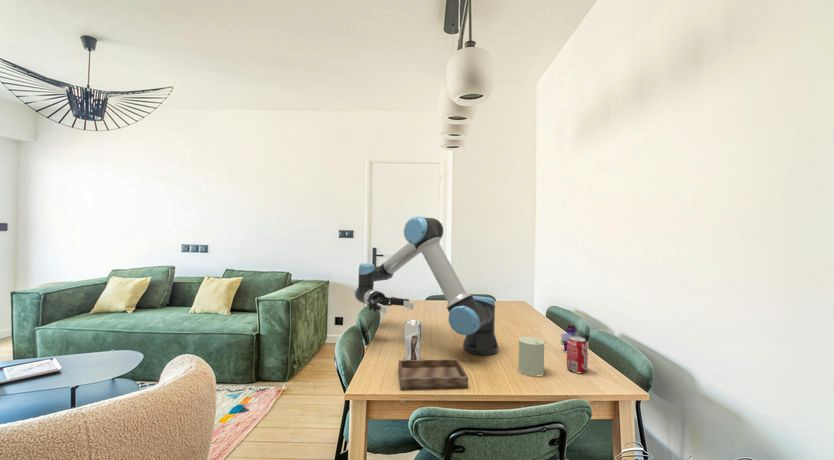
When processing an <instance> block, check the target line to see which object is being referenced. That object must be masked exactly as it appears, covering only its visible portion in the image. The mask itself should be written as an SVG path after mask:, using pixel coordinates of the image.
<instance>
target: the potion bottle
mask: <svg viewBox="0 0 834 460" xmlns="http://www.w3.org/2000/svg"><path fill="white" fill-rule="evenodd" d="M565 329H566V331H567V333H561V334H560V336H561V340H560V341H561V342H560V343H561V345H562V346H563V347H564V350H565V351H567V341H568V340H569V337H571V336H577V337H582V336H580V335H577V334H576V333H577V332H578V330H577V329H578V328H577V327H576V325H575V324H572V323H568V324H567V326H566V327H565ZM565 351H564V352H565Z"/></svg>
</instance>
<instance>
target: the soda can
mask: <svg viewBox="0 0 834 460" xmlns="http://www.w3.org/2000/svg"><path fill="white" fill-rule="evenodd" d="M586 340H587V339H586V338H584V337H582V336H581V337H577V336H571V337H569V340H568V341H567V353H566V368H567V369H569V371H570V370H572V371H575V372H584V373H585V372H587V371H588V362H589V361H588V358H589V357H588V356H589V355H588V353H589V352H588V351H589V348H588V347H589V346H588V343H587V341H586ZM572 371H571V372H572ZM575 372H574V373H575Z"/></svg>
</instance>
